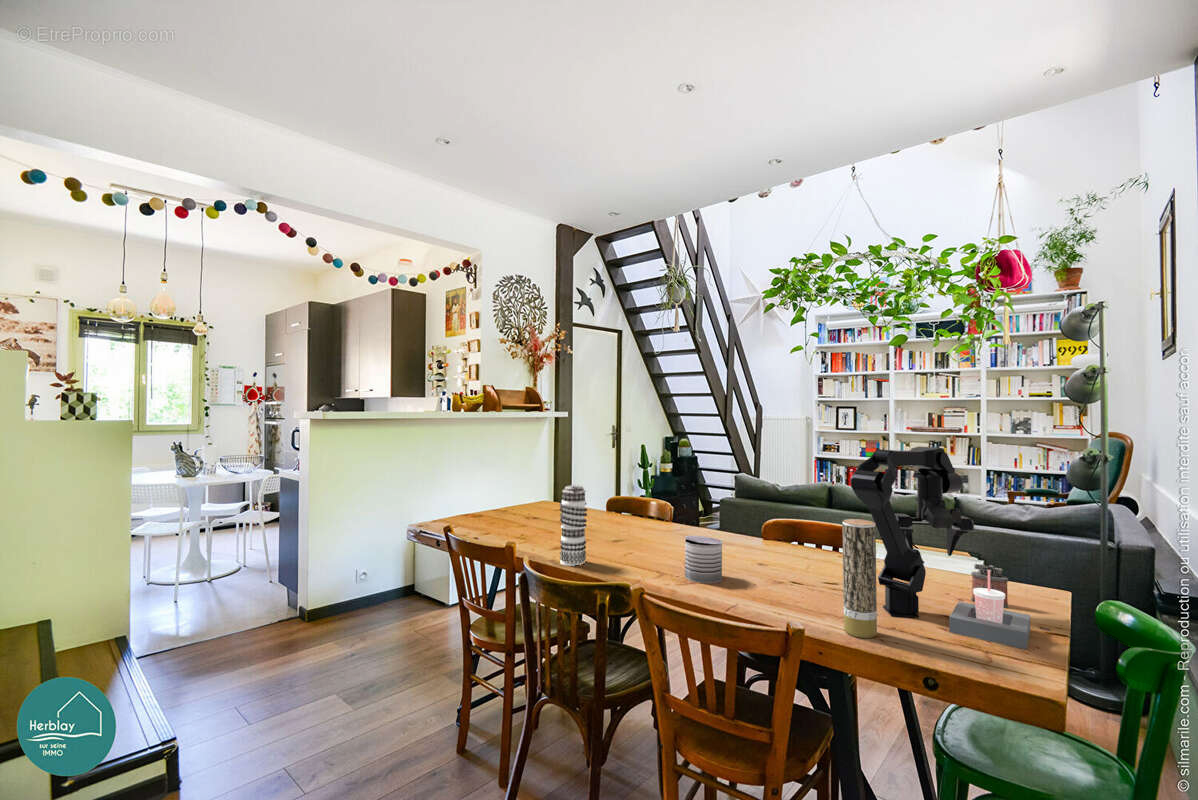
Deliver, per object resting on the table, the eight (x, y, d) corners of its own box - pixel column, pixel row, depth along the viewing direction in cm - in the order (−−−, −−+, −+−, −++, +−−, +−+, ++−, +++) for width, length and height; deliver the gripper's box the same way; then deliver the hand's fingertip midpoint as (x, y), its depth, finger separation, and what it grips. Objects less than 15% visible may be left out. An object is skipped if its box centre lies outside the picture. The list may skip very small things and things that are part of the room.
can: (681, 572, 174) (681, 533, 174) (717, 572, 174) (717, 533, 174) (688, 583, 162) (688, 542, 162) (727, 583, 163) (727, 542, 163)
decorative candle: (557, 559, 187) (558, 484, 188) (584, 558, 189) (585, 484, 190) (560, 566, 178) (561, 488, 179) (589, 565, 180) (589, 487, 181)
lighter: (1009, 606, 146) (1009, 567, 146) (1007, 609, 143) (1006, 569, 143) (973, 598, 151) (972, 561, 152) (970, 601, 149) (969, 563, 149)
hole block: (1026, 649, 118) (1026, 632, 118) (949, 632, 127) (949, 616, 127) (1030, 630, 129) (1030, 615, 129) (958, 615, 138) (958, 601, 138)
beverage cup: (999, 628, 130) (999, 567, 131) (1010, 638, 124) (1010, 574, 125) (969, 624, 132) (968, 565, 132) (978, 634, 126) (978, 572, 126)
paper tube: (867, 627, 130) (865, 518, 130) (883, 639, 123) (881, 525, 123) (838, 627, 129) (837, 519, 130) (852, 639, 123) (851, 525, 123)
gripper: (903, 498, 140) (903, 560, 140) (985, 500, 137) (985, 564, 137) (887, 492, 151) (888, 550, 151) (963, 494, 148) (963, 553, 148)
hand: (930, 554), depth 146 cm, fingers open, 9 cm apart
